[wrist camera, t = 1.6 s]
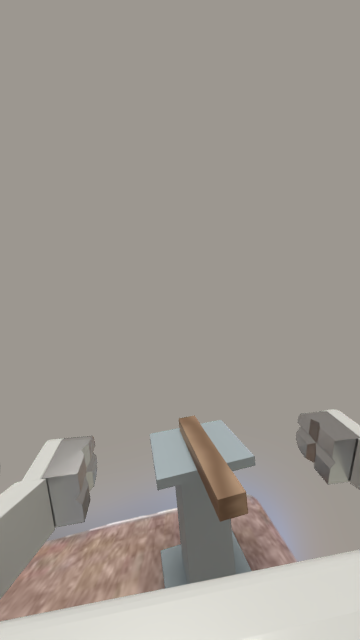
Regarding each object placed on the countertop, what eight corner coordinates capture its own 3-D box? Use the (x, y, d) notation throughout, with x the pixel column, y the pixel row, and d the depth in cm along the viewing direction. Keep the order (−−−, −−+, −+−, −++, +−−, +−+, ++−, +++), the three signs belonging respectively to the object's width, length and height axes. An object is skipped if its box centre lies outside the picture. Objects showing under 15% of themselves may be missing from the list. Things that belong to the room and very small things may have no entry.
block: (219, 521, 25) (217, 499, 25) (179, 430, 46) (178, 418, 46) (248, 513, 25) (245, 491, 25) (195, 427, 47) (194, 415, 47)
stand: (173, 657, 32) (156, 480, 32) (161, 557, 46) (149, 434, 46) (269, 616, 35) (254, 456, 36) (231, 535, 49) (220, 419, 49)
